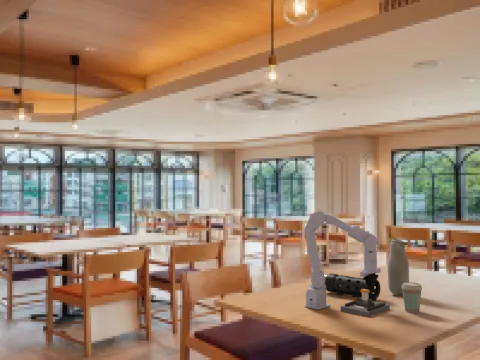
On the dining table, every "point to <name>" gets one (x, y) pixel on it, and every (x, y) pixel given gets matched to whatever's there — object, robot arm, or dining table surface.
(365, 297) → the breaker lever
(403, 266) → the grey bottle
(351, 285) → the muzzle brake
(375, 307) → the breaker panel
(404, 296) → the coffee cup
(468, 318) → the dining table surface
